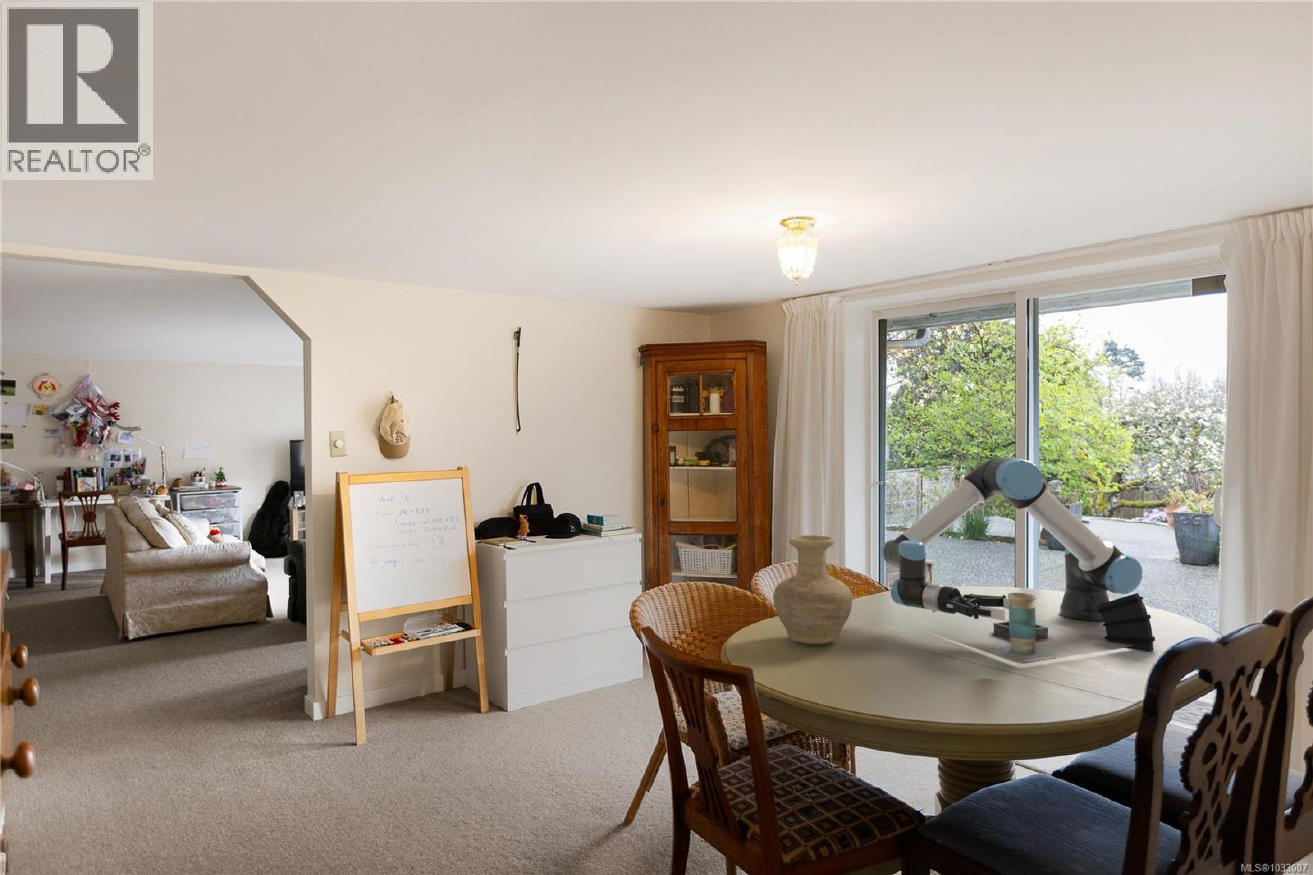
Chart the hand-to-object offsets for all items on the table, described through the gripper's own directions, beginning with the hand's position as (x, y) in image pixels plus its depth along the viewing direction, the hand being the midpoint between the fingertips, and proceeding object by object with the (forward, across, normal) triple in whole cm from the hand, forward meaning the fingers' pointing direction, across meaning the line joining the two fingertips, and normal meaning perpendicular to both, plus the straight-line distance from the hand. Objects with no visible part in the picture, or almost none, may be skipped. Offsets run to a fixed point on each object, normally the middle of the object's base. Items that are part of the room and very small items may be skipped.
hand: (1016, 610), depth 210 cm
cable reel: (+2, 0, -11) cm, 11 cm away
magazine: (+17, -28, -12) cm, 35 cm away
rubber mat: (+2, 0, -12) cm, 12 cm away
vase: (-46, +28, -12) cm, 55 cm away
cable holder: (-6, -15, -12) cm, 20 cm away
